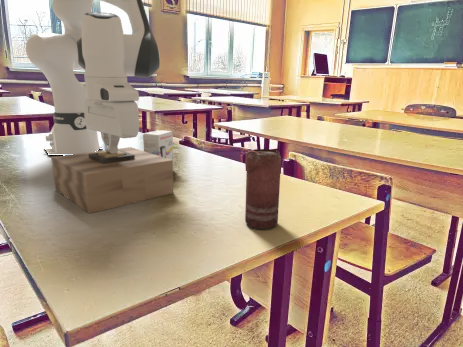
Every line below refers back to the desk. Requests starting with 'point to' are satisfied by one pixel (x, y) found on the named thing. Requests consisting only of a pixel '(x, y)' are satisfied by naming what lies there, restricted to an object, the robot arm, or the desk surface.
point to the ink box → (159, 143)
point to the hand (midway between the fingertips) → (111, 152)
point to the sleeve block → (112, 178)
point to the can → (262, 188)
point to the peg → (107, 154)
